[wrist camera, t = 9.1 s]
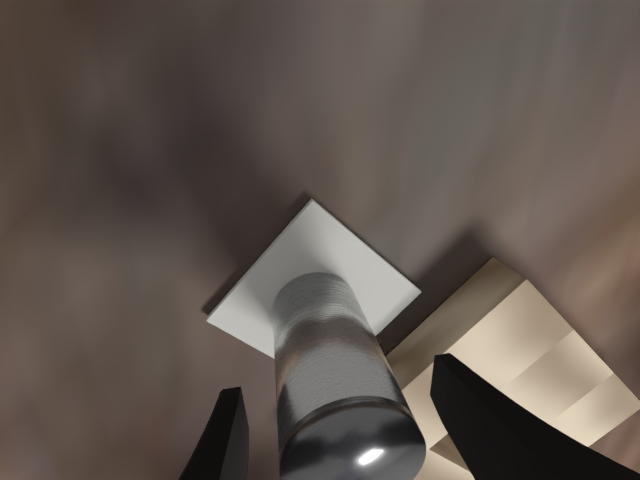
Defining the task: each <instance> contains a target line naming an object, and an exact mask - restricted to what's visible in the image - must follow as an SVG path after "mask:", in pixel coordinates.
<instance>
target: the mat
mask: <svg viewBox="0 0 640 480" xmlns="http://www.w3.org/2000/svg"><path fill="white" fill-rule="evenodd" d="M313 272H325V273H330V274H333V275H336V276H338V277H340V278H342V279H343V280H345V281H346V282H347V283H348V284H349V285H350V287H351V288H352V290H353V292H354V294H355V296H356V298H357V300H358V302H359V304H360V306H361V308H362V310H363V312H364V314H365V316H366V319H367V321H368V323H369V325H370V327H371V329H372V331H373V333H374V335H375V336H376V335H377V334H378V333H379V332H380V331H382V330H383V329H384V328H385V327H386V326H387V325H388V324H389V323H390V322H391V321H392V320H393V319H394V318H395V317H396V316H397V315H398V314H399V313H400V312H401V311H402V310H404V309H405V308H406V307H407V306H408V305H409V304H410V303H411V302H412V301H413V300H414V299H415V298H416V297H417V296H418V295H419V294H420V293H421V291H420V289H419V288H418V287H417V286H415V285H414V284H413V283H412V282H411V281H409V280H408V279H407V278H406V277H405V276H403V275H402V274H401V273H400V272H399V271H398V270H396V269H395V268H394V267H393V266H392V265H390V264H389V263H388V262H387V261H386V260H384V259H383V258H382V257H381V256H380V255H379V254H377V253H376V252H375V251H374V250H373V249H371V248H370V247H369V246H368V245H367V244H365V243H364V242H363V241H362V240H361V239H360V238H358V237H357V236H356V235H355V234H354V233H352V232H351V231H350V230H349V229H348V228H346V227H345V226H344V225H343V224H342V223H341V222H339V221H338V220H337V219H336V218H335V217H333V216H332V215H331V214H330V213H329V212H327V211H326V210H325V209H324V208H323V207H322V206H320V205H319V204H318V203H317V202H316V201H314V200H313V199H312V198H311V199H310V201H309V202H308V203H307V204H306V205H305V206H304V207H303V208H302V210H301V211H300V212H299V213H298V214H297V215H296V216H295V218H294V219H293V220H292V221H291V222H290V223H289V224H288V225H287V227H286V228H285V229H284V230H283V231H282V232H281V233H280V235H279V236H278V237H277V238H276V239H275V240H274V241H273V242H272V244H271V245H270V246H269V247H268V248H267V249H266V250H265V252H264V253H263V254H262V255H261V256H260V257H259V258H258V259H257V261H256V262H255V263H254V264H253V265H252V266H251V267H250V269H249V270H248V271H247V272H246V273H245V274H244V275H243V276H242V278H241V279H240V280H239V281H238V282H237V283H236V284H235V286H234V287H233V288H232V289H231V290H230V291H229V292H228V293H227V295H226V296H225V297H224V298H223V299H222V300H221V301H220V303H219V304H218V305H217V306H216V307H215V308H214V309H213V310H212V312H211V313H210V314H209V315H208V316H207V320H206V321H207V322H209V323H211V324H213V325H215V326H216V327H218V328H220V329H222V330H224V331H225V332H227V333H229V334H231V335H233V336H234V337H236V338H238V339H240V340H242V341H243V342H245V343H247V344H249V345H251V346H252V347H254V348H256V349H258V350H259V351H261V352H263V353H265V354H267V355H268V356H270V357H272V358H274V359H275V357H274V334H273V304H274V301H275V298H276V296H277V294H278V293H279V291H280V290H281V289H282V288H283V287H284V286H285V285H286V284H287V283H288V282H290V281H291V280H292V279H294V278H296V277H298V276H301V275H303V274H307V273H313Z"/></svg>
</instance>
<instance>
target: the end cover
mask: <svg viewBox="0 0 640 480" xmlns="http://www.w3.org/2000/svg"><path fill="white" fill-rule="evenodd" d="M273 334H274V357H275V380H276V403H277V425H278V448H279V471H280V480H413V479H414V478H415V477H416V476H417V474H418V473H419V471H420V470H421V468H422V466H423V463H424V461H425V457H426V442H425V439H424V437H423V435H422V433H421V430H420V428H419V426H418V424H417V422H416V420H415V418H414V416H413V414H412V412H411V410H410V408H409V406H408V403H407V401H406V399H405V397H404V395H403V393H402V391H401V389H400V387H399V385H398V383H397V381H396V379H395V377H394V374H393V372H392V370H391V368H390V366H389V364H388V362H387V360H386V358H385V356H384V354H383V352H382V350H381V348H380V345H379V343H378V341H377V339H376V337H375V335H374V333H373V331H372V329H371V327H370V325H369V323H368V321H367V319H366V316H365V314H364V312H363V310H362V308H361V306H360V304H359V302H358V300H357V298H356V296H355V294H354V292H353V290H352V288H351V287H350V285H349V284H348V283H347V282H346V281H345V280H343V279H342V278H340V277H338V276H336V275H333V274H330V273H325V272H313V273H307V274H303V275H301V276H298V277H296V278H294V279H292V280H291V281H290V282H288V283H287V284H286V285H285V286H284V287H283V288H282V289H281V290H280V291H279V293H278V294H277V296H276V298H275V301H274V304H273Z"/></svg>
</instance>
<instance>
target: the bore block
mask: <svg viewBox="0 0 640 480" xmlns="http://www.w3.org/2000/svg"><path fill="white" fill-rule="evenodd" d="M446 353H451V354H452V355H453V356H455V357H456V358H457V359H458V360H460V361H461V362H462V363H464V364H465V365H466V366H468V367H469V368H470V369H471V370H473V371H474V372H475V373H477V374H478V375H479V376H481V377H482V378H483V379H484V380H486V381H487V382H488V383H490V384H491V385H492V386H494V387H495V388H497V389H498V390H499V391H501V392H502V393H504V394H505V395H506V396H508V397H509V398H510V399H512V400H513V401H515V402H516V403H517V404H519V405H520V406H522V407H523V408H525V409H526V410H528V411H529V412H531V413H532V414H534V415H535V416H537V417H538V418H540V419H541V420H543V421H545V422H546V423H548V424H549V425H551V426H553V427H554V428H556V429H558V430H559V431H561V432H563V433H564V434H566V435H568V436H569V437H571V438H573V439H574V440H576V441H578V442H580V443H581V444H583V445H585V446H587V447H589V446H590V445H591V444H593V443H594V442H595V441H597V440H598V439H599V438H601V437H602V436H604V435H605V434H606V433H608V432H609V431H610V430H612V429H613V428H614V427H616V426H617V425H619V424H620V423H621V422H623V421H624V420H625V419H627V418H628V417H630V416H631V415H632V414H634V413H635V412H636V411H638V410H639V409H640V401H639V400H638V399H637V398H636V396H635V395H634V394H633V393H632V392H631V391H630V390H629V389H628V388H627V387H626V386H625V385H624V383H623V382H622V381H621V380H620V379H619V378H618V377H617V376H616V375H615V374H614V373H613V372H612V370H611V369H610V368H609V367H608V366H607V365H606V364H605V363H604V362H603V361H602V360H601V359H600V358H599V356H598V355H597V354H596V353H595V352H594V351H593V350H592V349H591V348H590V347H589V346H588V345H587V343H586V342H585V341H584V340H583V339H582V338H581V337H580V336H579V335H578V334H577V333H576V332H575V330H574V329H573V328H572V327H571V326H570V325H569V324H568V323H567V322H566V321H565V320H564V319H563V318H562V316H561V315H560V314H559V313H558V312H557V311H556V310H555V309H554V308H553V307H552V306H551V305H550V303H549V302H548V301H547V300H546V299H545V298H544V297H543V296H542V295H541V294H540V293H539V292H538V291H537V289H536V288H535V287H534V286H533V285H532V284H531V283H530V282H529V281H528V280H527V279H526V278H525V277H523V276H522V275H520V274H518V273H517V272H515V271H514V270H512V269H511V268H509V267H508V266H506V265H505V264H503V263H502V262H500V261H499V260H497V259H496V258H494V257H492V258H491V259H490V260H489V261H488V262H487V263H486V264H485V265H484V266H483V267H481V268H480V269H479V270H478V271H477V272H476V273H475V274H474V275H473V276H472V277H471V278H470V279H469V280H467V281H466V282H465V283H464V284H463V285H462V286H461V287H460V288H459V289H458V290H457V291H456V292H455V293H453V294H452V295H451V296H450V297H449V298H448V299H447V300H446V301H445V302H444V303H443V304H442V305H441V306H440V307H438V308H437V309H436V310H435V311H434V312H433V313H432V314H431V315H430V316H429V317H428V318H427V319H426V320H424V321H423V322H422V323H421V324H420V325H419V326H418V327H417V328H416V329H415V330H414V331H413V332H412V333H411V334H409V335H408V336H407V337H406V338H405V339H404V340H403V341H402V342H401V343H400V344H399V345H398V346H397V347H395V348H394V349H393V350H392V351H391V352H390V353H389V354H388V355H387V356H386V357H385V358H386V360H387V362H388V364H389V366H390V368H391V370H392V372H393V374H394V377H395V379H396V381H397V383H398V385H399V387H400V389H401V391H402V393H403V395H404V397H405V399H406V401H407V403H408V406H409V408H410V410H411V412H412V414H413V416H414V418H415V420H416V422H417V424H418V426H419V428H420V430H421V433H422V435H423V437H424V439H425V442H426V457H425V461H424V463H423V466H422V468H421V470H420V471H419V473H418V474H417V476H416V477H415V478H414V479H413V480H475V479H474V477H473V475H472V474H471V472H470V470H469V469H468V467H467V465H466V463H465V462H464V460H463V458H462V457H461V455H460V453H459V452H458V450H457V448H456V446H455V445H454V443H453V441H452V439H451V438H450V436H449V435H447V434H448V432H447V431H446V429H445V427H444V425H443V424H442V422H441V419H440V417H439V415H438V413H437V411H436V408H435V406H434V404H433V401H432V399H431V397H430V388H431V380H432V372H433V364H434V356H435V355H439V354H446Z"/></svg>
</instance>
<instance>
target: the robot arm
mask: <svg viewBox="0 0 640 480" xmlns="http://www.w3.org/2000/svg"><path fill="white" fill-rule="evenodd" d="M430 397H431V399H432V401H433V404H434V406H435V408H436V411H437V413H438V415H439V417H440V419H441V422H442V424H443V425H444V427H445V429H446V431H447V432H448V434H449V436H450V438H451V439H452V441H453V443H454V445H455V446H456V448H457V450H458V452H459V453H460V455H461V457H462V458H463V460H464V462H465V463H466V465H467V467H468V469H469V470H470V472H471V474H472V475H473V477H474V479H475V480H640V474H639V473H637V472H635V471H633V470H631V469H629V468H627V467H625V466H623V465H621V464H619V463H617V462H615V461H613V460H611V459H609V458H607V457H605V456H604V455H602V454H600V453H598V452H596V451H594V450H592V449H590V448H589V447H587V446H585V445H583V444H581V443H580V442H578V441H576V440H574V439H573V438H571V437H569V436H568V435H566V434H564V433H563V432H561V431H559V430H558V429H556V428H554V427H553V426H551V425H549V424H548V423H546V422H545V421H543V420H541V419H540V418H538V417H537V416H535V415H534V414H532V413H531V412H529V411H528V410H526V409H525V408H523V407H522V406H520V405H519V404H517V403H516V402H515V401H513V400H512V399H510V398H509V397H508V396H506V395H505V394H503V393H502V392H501V391H499V390H498V389H497V388H495V387H494V386H492V385H491V384H490V383H488V382H487V381H486V380H484V379H483V378H482V377H481V376H479V375H478V374H477V373H475V372H474V371H473V370H471V369H470V368H469V367H468V366H466V365H465V364H464V363H462V362H461V361H460V360H458V359H457V358H456V357H455V356H453V355H452V354H451V353H446V354H439V355H435V356H434V364H433V372H432V380H431V388H430ZM248 457H249V426H248V421H247V416H246V411H245V406H244V401H243V396H242V390H241V387H235V388H229V389H223V390H222V391H221V392H220V394H219V397H218V400H217V402H216V405H215V407H214V410H213V412H212V414H211V417H210V419H209V421H208V423H207V425H206V428H205V430H204V432H203V434H202V436H201V438H200V440H199V442H198V444H197V446H196V448H195V450H194V452H193V454H192V456H191V458H190V460H189V462H188V463H187V465H186V467H185V469H184V471H183V472H182V474H181V476H180V478H179V480H247V470H248Z"/></svg>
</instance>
